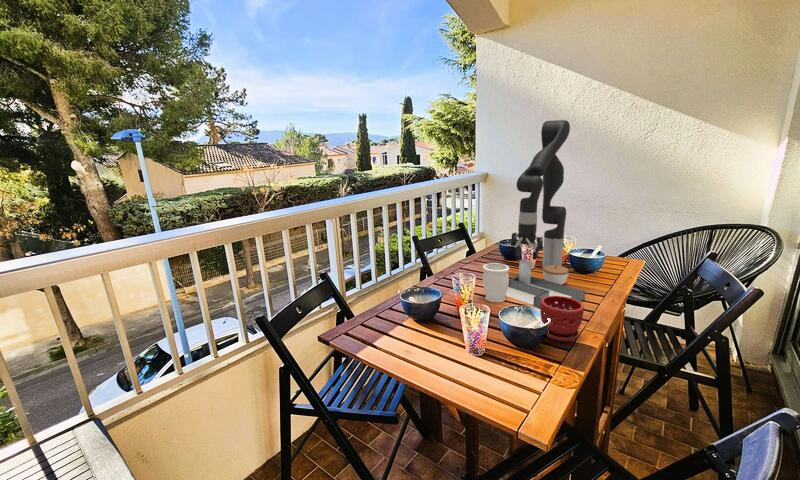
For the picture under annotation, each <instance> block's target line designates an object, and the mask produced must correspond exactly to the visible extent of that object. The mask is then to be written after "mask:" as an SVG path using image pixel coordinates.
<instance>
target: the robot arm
mask: <svg viewBox="0 0 800 480" xmlns="http://www.w3.org/2000/svg"><path fill="white" fill-rule="evenodd" d="M570 130H571V126H570V122H569V121H568V120H566V119H556V120H554V119H553V120H546V121H544V122H543V124H542V126H541V137H540V138H541V146H542V147H541V148H542V149H541V150H539V151H538V152H537V153H536V154H535V156H534V157H532V158H533V159H532V161H531V162H530V164H529V166H528V167H527V168H526V169H525V170H524V171H523V173H522V174H520V176H519V177H518V178H517V181H516V188H517V191H518V192H520V193H521V192H522V193H529V194H530V196H528V197H523V198H521V199H520V202H519V212H518V213H519V214H518V227H517V228H518V231H517V232H518V233H517V232H512V233H511V238H510V239H511V241H510V246H512V247H513V248H514V255H515V257H518V256H520V252H521V248H520V247H521V245H526V246H529V247H530V248H531V250H532V260H534V261H535V260H537V259H538V256H539V252H541V251H542V263H541V264H542V265H541V268H542V269H543V267H544V266H548V265H558V266H562V264H563V255H564V254H563V253H564V252H563V251H564V250H563V249H564V237H565V226H566V220H567V219H566V218H567V209H566V207H565V206H562V205H561V206H560V205H559V206H557V205H551V202H552V199H553V198H554V196H555V195H556V193H557V192H558V191H559V190H560V188H562V185H563V183H564V180H565V177H564V176H565V168H564V166H563V163H562V162H561V160H560V158H559V157H558V156H557V153H558V151H559V150H560V149H561V147H562V146H563V145H564V143H565V142H566V141H567V139H568V137H569V134H570ZM541 192H542V193H543V195H542V196H543V197H542V214H541V218H542V219H541V220H542V222H543V224H546V225H547V224H548V225H556V227H554V228H551V229H547V230H545V231H544V232H543V233H544V235H543V236H537V235H536V234H537V225H538V202H539V199H540V195H541Z"/></svg>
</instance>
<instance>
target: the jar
mask: <svg viewBox="0 0 800 480" xmlns="http://www.w3.org/2000/svg"><path fill="white" fill-rule="evenodd" d="M482 269H483V270H484V271H483V272H482V274H483V275H482V285H483V291H484V295H485V297H484V298H485V299H484V300H486V301H488V302H491V303H503V302H504V301H506V298H505V297H506V293H507V289H508V287H509V279H510V275H509V271H510V267H509V265H506V264H504V263H499V262H498V263H496V262H494V263H493V262H492V263H486V264H483V266H482Z"/></svg>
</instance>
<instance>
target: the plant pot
mask: <svg viewBox="0 0 800 480" xmlns="http://www.w3.org/2000/svg"><path fill="white" fill-rule="evenodd" d="M555 302H557V304H555ZM550 304H552V307H551V306H550ZM562 304H565V306H562ZM569 306H571V308H569ZM555 307H559V308H560V309H557V308H555ZM539 308H540V309H539V311H540V312H539V313H540V319H541V322H543V323H544V324H545V323H547V322H548V320H547V318H550V319H551V324H550V326H549V333H548V335H547V336H546V337H548V338H550V339H552V340H555V341H557V342H570V341H574V340H576V339H577V338H578V336H579V331H578V330H579V329H580V327H581V325H582V321H583V317H584V310H585V306H584V304H583V303H582V301H581V302H579V301H577V300H575V299H572V298H568V297H563V296H547V297H544V298H543V299H542V300H541V307H539ZM564 308H565V309H567V310H563V309H564ZM544 313H545V314H544ZM543 323H542V324H543Z"/></svg>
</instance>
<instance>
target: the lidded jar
mask: <svg viewBox="0 0 800 480" xmlns="http://www.w3.org/2000/svg"><path fill="white" fill-rule="evenodd" d="M542 275H543V280H546V281H550V282H554V283H557V284H561V285H564V284H565V283H566V281H567V280H568V276H569V268H568V267H565V266H558V265H548V266H544V267H543V268H542Z"/></svg>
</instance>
